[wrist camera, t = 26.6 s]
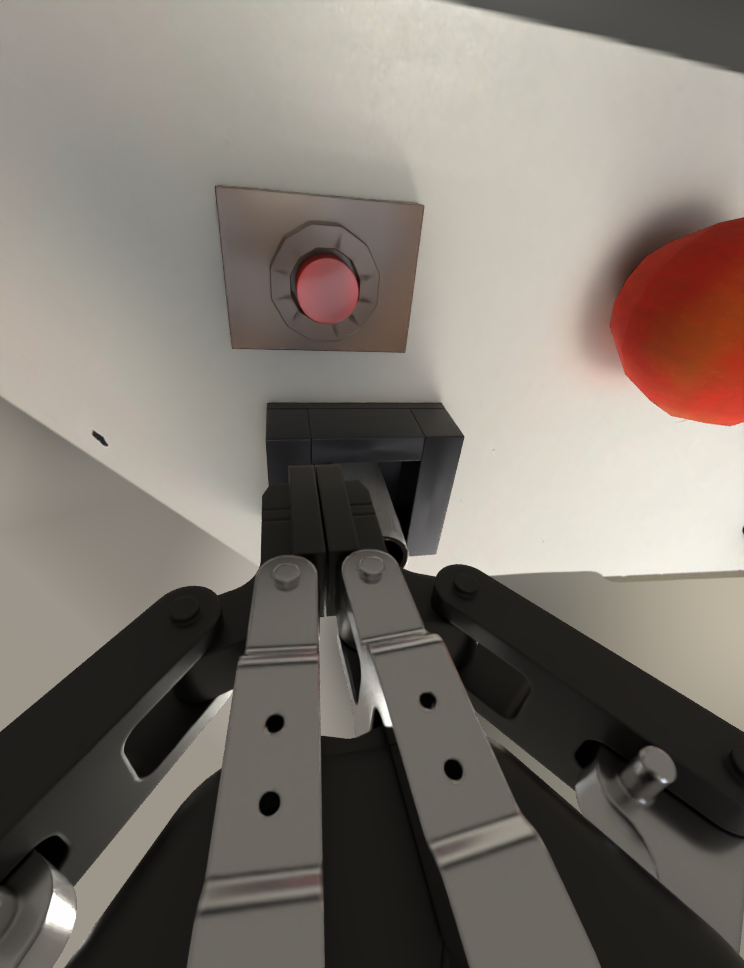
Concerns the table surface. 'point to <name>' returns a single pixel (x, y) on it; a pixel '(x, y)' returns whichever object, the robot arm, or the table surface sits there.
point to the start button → (326, 288)
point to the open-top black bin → (376, 454)
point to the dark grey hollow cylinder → (380, 506)
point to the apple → (687, 325)
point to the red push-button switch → (295, 237)
